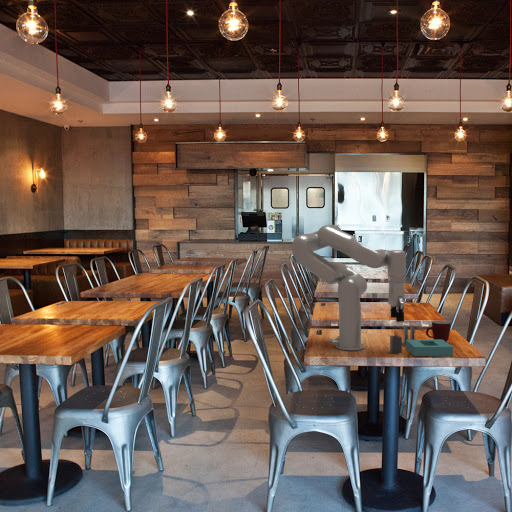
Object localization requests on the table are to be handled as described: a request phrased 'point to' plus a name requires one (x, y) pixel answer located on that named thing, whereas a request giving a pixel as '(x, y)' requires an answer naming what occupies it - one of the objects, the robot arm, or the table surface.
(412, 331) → the cable clip
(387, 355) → the table surface
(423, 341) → the block
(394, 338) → the plug
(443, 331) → the mug
